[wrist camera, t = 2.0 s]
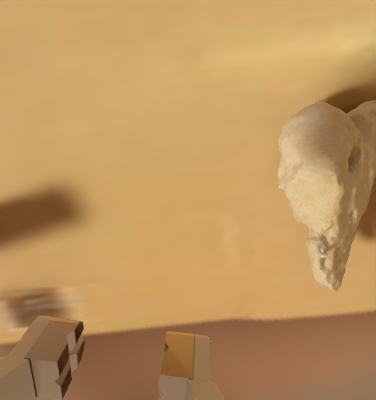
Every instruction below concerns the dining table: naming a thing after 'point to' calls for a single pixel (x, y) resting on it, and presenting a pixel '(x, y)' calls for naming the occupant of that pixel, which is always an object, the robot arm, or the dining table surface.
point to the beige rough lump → (329, 179)
